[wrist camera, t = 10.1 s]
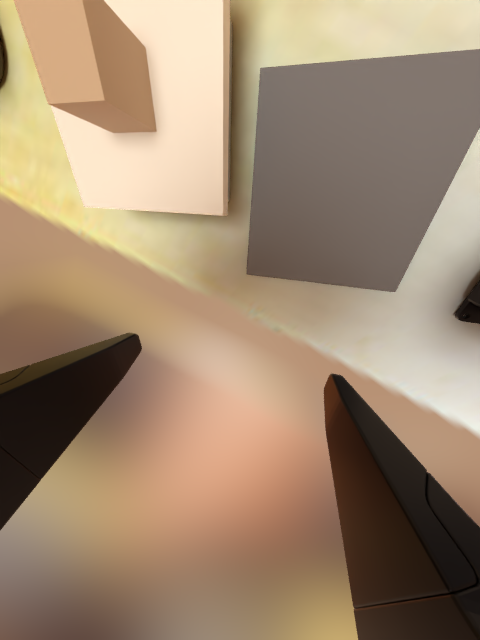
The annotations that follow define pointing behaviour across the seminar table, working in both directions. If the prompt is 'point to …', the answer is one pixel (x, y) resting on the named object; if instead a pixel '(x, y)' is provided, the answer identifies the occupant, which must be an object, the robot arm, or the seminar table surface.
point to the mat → (356, 163)
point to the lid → (138, 98)
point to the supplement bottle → (1, 61)
